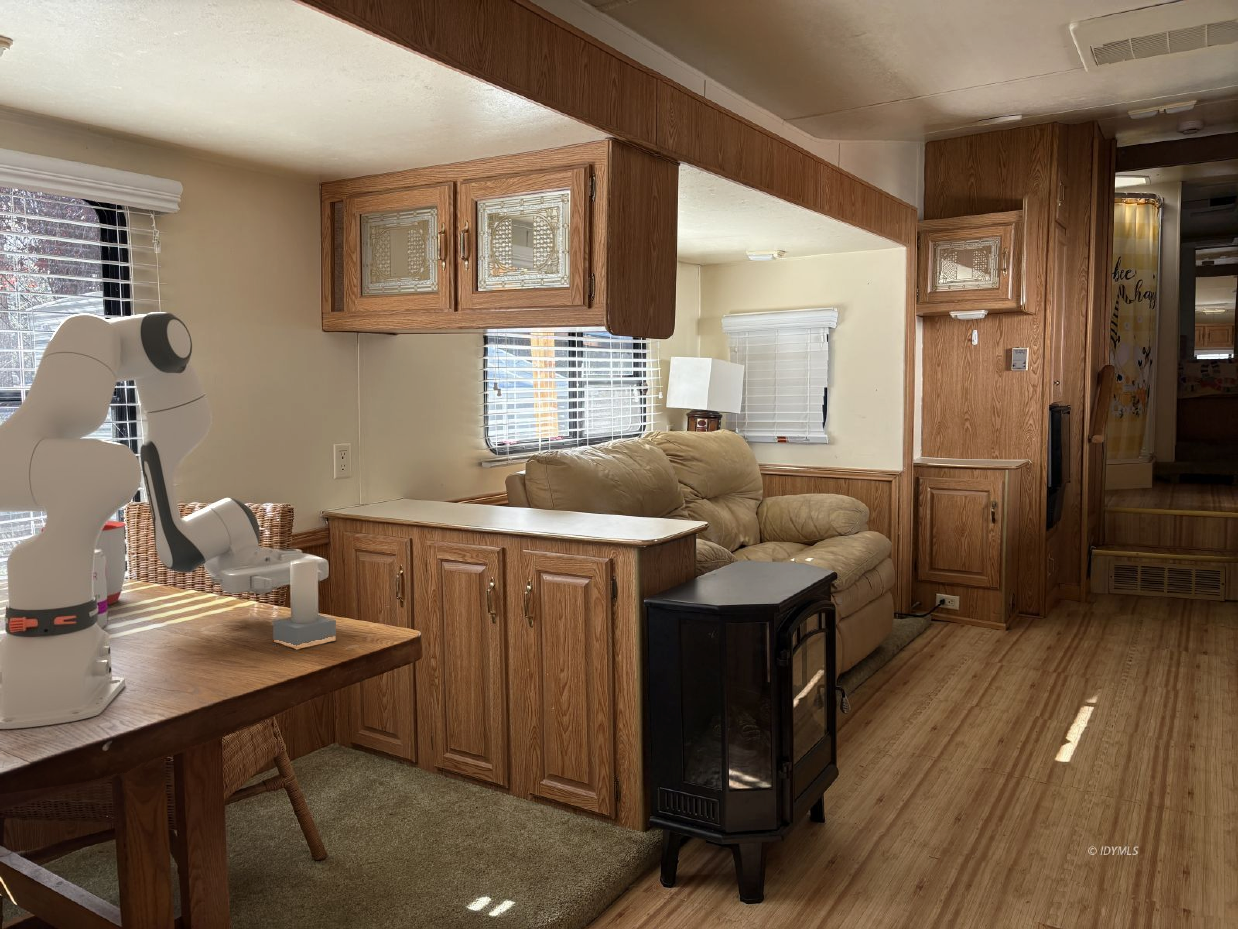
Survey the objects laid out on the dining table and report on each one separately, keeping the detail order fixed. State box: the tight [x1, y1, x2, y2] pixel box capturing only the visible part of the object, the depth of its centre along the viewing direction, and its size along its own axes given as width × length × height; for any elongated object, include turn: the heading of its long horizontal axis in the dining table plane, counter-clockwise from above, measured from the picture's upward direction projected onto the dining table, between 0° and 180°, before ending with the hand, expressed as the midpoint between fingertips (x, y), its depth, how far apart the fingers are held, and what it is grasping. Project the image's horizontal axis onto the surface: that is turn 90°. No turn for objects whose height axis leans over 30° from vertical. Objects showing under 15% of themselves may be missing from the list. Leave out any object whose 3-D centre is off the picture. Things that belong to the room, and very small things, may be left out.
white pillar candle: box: [289, 559, 319, 624], centre depth 173 cm, size 5×5×11 cm
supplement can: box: [93, 549, 109, 629], centre depth 180 cm, size 8×8×15 cm
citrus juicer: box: [40, 520, 126, 606], centre depth 199 cm, size 16×17×20 cm
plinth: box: [272, 614, 337, 646], centre depth 173 cm, size 8×8×4 cm
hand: (297, 580), depth 174 cm, fingers open, 8 cm apart
